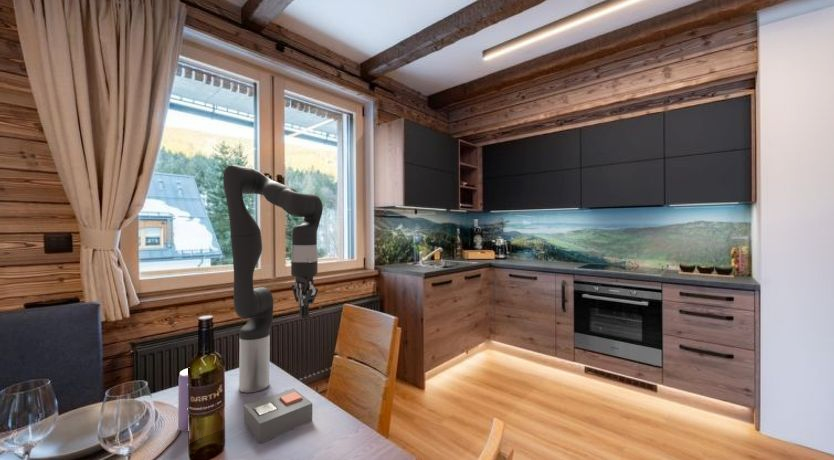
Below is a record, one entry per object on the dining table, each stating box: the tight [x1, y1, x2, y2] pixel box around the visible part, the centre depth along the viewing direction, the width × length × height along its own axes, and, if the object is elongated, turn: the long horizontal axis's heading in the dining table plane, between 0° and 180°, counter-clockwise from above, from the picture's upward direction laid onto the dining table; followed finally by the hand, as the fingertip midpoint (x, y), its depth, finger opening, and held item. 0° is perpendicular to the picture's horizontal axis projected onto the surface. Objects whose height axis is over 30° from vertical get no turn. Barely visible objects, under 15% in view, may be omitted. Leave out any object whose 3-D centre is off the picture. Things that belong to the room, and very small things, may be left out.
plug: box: [254, 403, 277, 416], centre depth 88 cm, size 4×4×4 cm
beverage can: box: [177, 367, 189, 433], centre depth 89 cm, size 6×6×15 cm
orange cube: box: [280, 392, 302, 406], centre depth 93 cm, size 4×4×4 cm
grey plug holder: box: [243, 388, 313, 444], centre depth 91 cm, size 12×14×5 cm
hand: (304, 317), depth 99 cm, fingers closed
